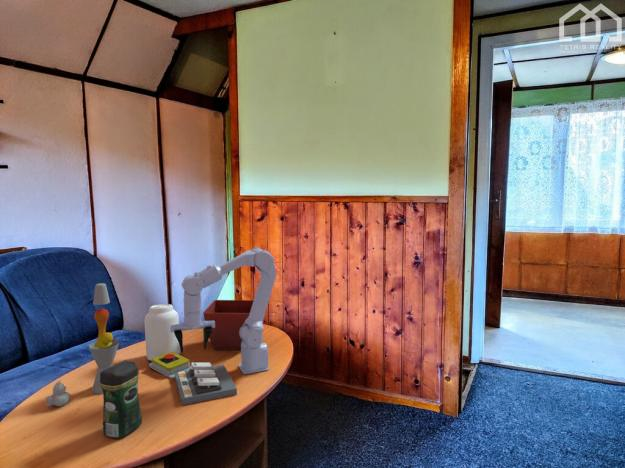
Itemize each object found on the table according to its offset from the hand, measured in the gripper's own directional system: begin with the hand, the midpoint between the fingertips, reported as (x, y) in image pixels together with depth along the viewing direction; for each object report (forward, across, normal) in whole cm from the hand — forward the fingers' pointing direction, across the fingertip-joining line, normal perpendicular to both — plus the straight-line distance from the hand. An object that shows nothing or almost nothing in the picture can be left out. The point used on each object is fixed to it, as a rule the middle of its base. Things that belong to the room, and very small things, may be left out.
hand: (193, 349), depth 146 cm
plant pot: (+11, +19, +27) cm, 35 cm away
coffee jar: (+11, -22, -24) cm, 34 cm away
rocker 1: (+7, +2, 0) cm, 7 cm away
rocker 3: (+7, +3, -13) cm, 15 cm away
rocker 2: (+7, +2, -6) cm, 10 cm away
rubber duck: (+11, -40, -2) cm, 42 cm away
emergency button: (+10, -7, +12) cm, 17 cm away
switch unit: (+11, +3, -6) cm, 13 cm away
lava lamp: (+11, -28, +5) cm, 30 cm away
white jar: (+10, -8, +24) cm, 27 cm away
